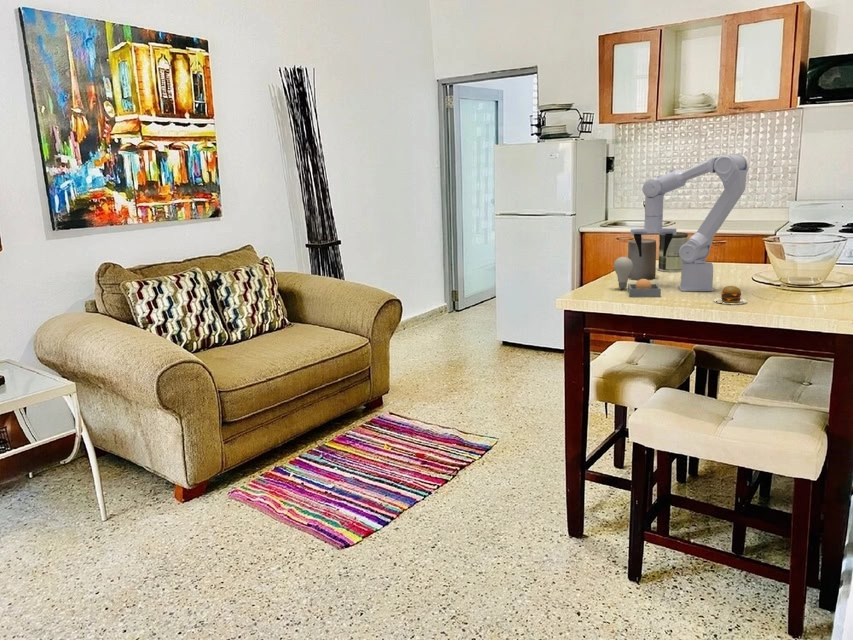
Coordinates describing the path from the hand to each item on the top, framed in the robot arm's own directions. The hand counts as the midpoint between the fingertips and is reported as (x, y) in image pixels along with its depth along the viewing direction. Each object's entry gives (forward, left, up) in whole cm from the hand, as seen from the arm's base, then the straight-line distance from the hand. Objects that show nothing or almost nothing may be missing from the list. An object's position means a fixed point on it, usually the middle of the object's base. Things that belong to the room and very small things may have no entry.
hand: (652, 256), depth 224 cm
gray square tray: (+4, +16, -10) cm, 20 cm away
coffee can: (-11, -33, -10) cm, 36 cm away
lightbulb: (+10, +8, -10) cm, 16 cm away
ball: (+4, +17, -10) cm, 20 cm away
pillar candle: (+2, -15, -10) cm, 18 cm away
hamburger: (-19, +29, -11) cm, 36 cm away
